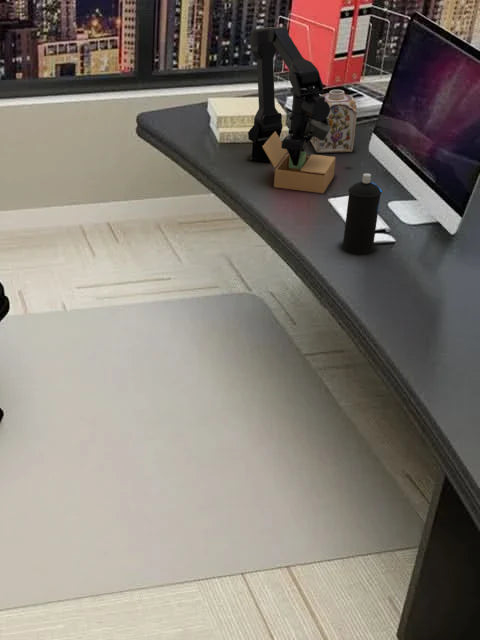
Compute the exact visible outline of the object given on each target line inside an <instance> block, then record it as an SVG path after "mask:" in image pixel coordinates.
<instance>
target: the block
mask: <svg viewBox="0 0 480 640" xmlns="http://www.w3.org/2000/svg"><path fill="white" fill-rule="evenodd" d="M306 156H307V151H304V152H303V151H301V154H300V158H299V162H298V165H297V166H294V165H293V163H292V160H291V157H290V159H289V168H295V169H302V167H303V166H304V164H305V162H306Z"/></svg>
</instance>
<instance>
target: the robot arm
mask: <svg viewBox="0 0 480 640" xmlns="http://www.w3.org/2000/svg"><path fill="white" fill-rule="evenodd" d="M248 41H249V45H250V46H249V47H250V51H251V53H252V56H254V57H255V59H256V72H257V93H258V96H257V97H258V110H257V111H256V113H255V116H254V118H253V125H252V127H251V128H250V129H249V131H247V137H248V138H247V139H248V140H249V141H251V143H252V147H251V157H250V158H249V160H250V161H253V162H261V163H271V161H270V159H269V157H268V156H267V154H266V152H265V151H264V149H263V147H262V146H263V145H264V144H265V143H266V142H267V140H268V139H269V138H270V137H271V136H272V134H273V133H274V132H275V131H276V133H277V135H278V136H279V138H280V139H281V135H282V132H283V127H284V126H283V115H282V113H281V112H279V111H278V109H277V108H276V97H275V72H274V71H275V70H274V69H275V67H274V57H275V55H276V54H277V53H278V54H279V56H280V57H281V60H282V61H283V63H284V64H285V66H286V67H287V70H288V75H287V77H288V80H289V82H290V85H291V87H292V88H290V90H289V93H291V94H292V102H291V103H292V104H291V114H290V115H289V121H290V127H289V128H288V133H287V134H288V135H287V136H285V137H284V138H283V139H282V140H281V141H282V146H281V148H282V149H286V150H287V154H289V155H290V157H291V160H292V163H293V165H294V166H297V165H298V162H299V158H300V154H301V151H303V152H305V149H306V147H307V145H308V143H309V142H311V141H310V140H311V139H312V137H313V136H314V137H317V138H318V139H319V140H322V141H324V139H325V138H326V136H327V134H328V132H329V130H330V128H331V127H330V126H331V125H329V119H327V117H328V115H329V113H330V106H329V104H328V103H327V102H325V97H324V96H321V95H323V94H325V90H324V84H323V81H322V78H321V74H320V71H319V69H318V67H317V66H315V65H314V63H313V62H312V61H310V60H308V59H306V58H304V57H303V56H302V53H301V52H300V49H298V46H296V43H294V41H293V39H292V37H291V35H289V29H288V28H287V27H285V26H279V27H274V26H269V27H261V28H254V29H252V31H251V33H250V34H249V36H248Z"/></svg>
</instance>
